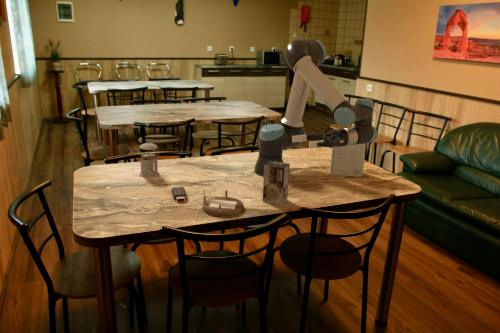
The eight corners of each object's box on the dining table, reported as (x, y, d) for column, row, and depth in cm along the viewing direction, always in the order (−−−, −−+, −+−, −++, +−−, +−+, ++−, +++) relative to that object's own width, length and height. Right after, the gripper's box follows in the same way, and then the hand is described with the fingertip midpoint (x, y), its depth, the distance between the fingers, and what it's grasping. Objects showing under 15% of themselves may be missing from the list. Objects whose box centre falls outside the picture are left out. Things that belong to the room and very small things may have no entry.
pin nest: (207, 198, 168) (207, 188, 167) (245, 201, 167) (245, 191, 165) (198, 215, 153) (198, 204, 152) (240, 218, 152) (241, 207, 150)
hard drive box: (359, 172, 208) (364, 134, 202) (362, 177, 201) (367, 138, 195) (329, 170, 210) (333, 132, 203) (330, 175, 202) (334, 136, 196)
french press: (134, 175, 190) (131, 123, 182) (149, 168, 201) (147, 118, 193) (152, 179, 187) (150, 126, 179) (166, 171, 197) (164, 121, 189)
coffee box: (287, 200, 170) (290, 163, 165) (282, 205, 165) (285, 168, 159) (267, 195, 174) (269, 160, 169) (261, 201, 168) (263, 164, 163)
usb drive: (183, 191, 176) (183, 185, 175) (187, 202, 165) (187, 196, 164) (171, 192, 174) (171, 186, 173) (174, 203, 163) (174, 197, 162)
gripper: (362, 151, 164) (316, 157, 156) (327, 140, 186) (286, 145, 179) (363, 133, 162) (317, 138, 154) (328, 124, 184) (286, 128, 177)
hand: (300, 142), depth 166 cm, fingers open, 13 cm apart
